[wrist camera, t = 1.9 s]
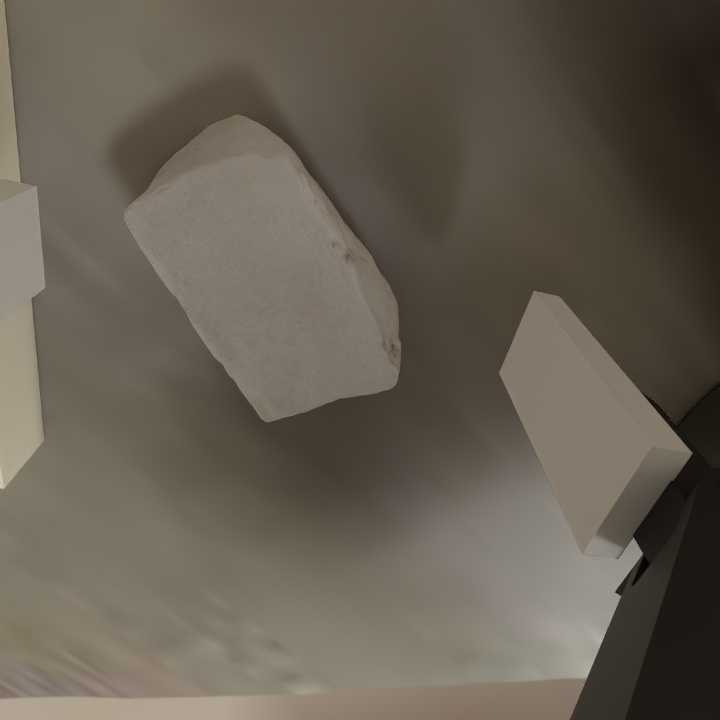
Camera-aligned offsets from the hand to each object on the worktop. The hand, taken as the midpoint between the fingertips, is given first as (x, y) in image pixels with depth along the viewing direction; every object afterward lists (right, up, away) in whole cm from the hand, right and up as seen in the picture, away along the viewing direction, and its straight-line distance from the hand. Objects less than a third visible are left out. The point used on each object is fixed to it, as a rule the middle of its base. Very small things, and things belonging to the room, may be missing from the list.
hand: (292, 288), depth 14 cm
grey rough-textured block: (-1, +2, +5) cm, 5 cm away
